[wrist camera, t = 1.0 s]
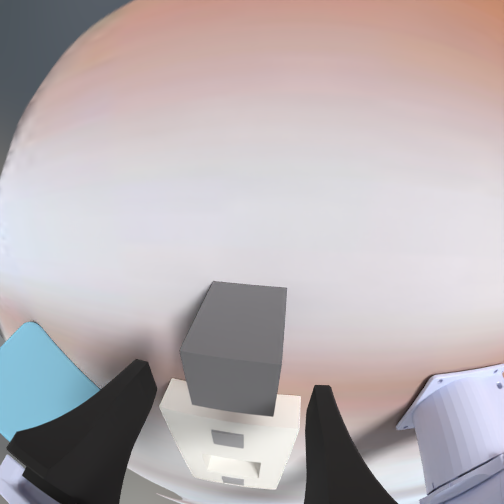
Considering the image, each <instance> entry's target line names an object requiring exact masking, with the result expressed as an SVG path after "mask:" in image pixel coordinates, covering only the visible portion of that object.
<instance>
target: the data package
mask: <svg viewBox="0 0 504 504" xmlns="http://www.w3.org/2000/svg"><path fill="white" fill-rule="evenodd" d="M98 391H100V389H99V388H98V387H97V386H96V385H95V384H94V383H93V382H92V381H91V380H90V379H89V378H88V377H86V376H85V375H84V374H83V373H82V372H81V371H80V370H79V369H78V368H77V367H76V366H75V365H74V363H73V362H72V361H71V360H70V359H69V358H68V357H67V356H66V355H65V354H64V353H63V352H62V351H61V350H60V348H59V347H58V346H57V345H56V344H55V343H54V342H53V340H52V339H51V338H50V337H49V336H48V335H47V333H46V332H45V331H44V330H43V329H42V327H41V326H40V325H38V324H36V323H34V322H26V323H24V324H23V325H22V326H21V327H20V328H19V329H18V330H17V331H16V332H15V333H14V334H13V335H12V336H11V337H10V338H9V339H8V340H7V341H6V342H5V343H4V344H3V345H2V346H1V347H0V433H1V434H2V435H3V436H4V437H5V438H6V439H7V440H8V441H11V440H12V438H13V436H14V435H15V433H16V432H17V431H22V430H25V429H29V428H33V427H36V426H39V425H42V424H44V423H47V422H49V421H52V420H54V419H56V418H58V417H60V416H62V415H64V414H66V413H68V412H69V411H71V410H73V409H74V408H76V407H78V406H79V405H81V404H82V403H84V402H85V401H87V400H88V399H89V398H91V397H92V396H93V395H95V394H96V393H97V392H98Z"/></svg>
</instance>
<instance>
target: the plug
mask: <svg viewBox="0 0 504 504" xmlns="http://www.w3.org/2000/svg"><path fill="white" fill-rule="evenodd" d="M286 296H287V288H282V287H270V286H259V285H248V284H237V283H227V282H217V281H213V283H212V285H211V287H210V289H209V291H208V293H207V295H206V297H205V299H204V301H203V303H202V305H201V307H200V309H199V311H198V313H197V315H196V317H195V320H194V322H193V324H192V326H191V328H190V330H189V332H188V334H187V336H186V338H185V340H184V342H183V344H182V346H181V348H180V355H181V360H182V365H183V369H184V373H185V378H186V382H187V386H188V390H189V394H190V398H191V402H192V405H196V406H201V407H206V408H212V409H217V410H224V411H230V412H237V413H244V414H252V415H261V416H271V417H273V416H274V410H275V404H276V398H277V392H278V385H279V379H280V372H281V365H282V354H283V341H284V327H285V312H286Z"/></svg>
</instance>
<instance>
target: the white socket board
mask: <svg viewBox="0 0 504 504" xmlns="http://www.w3.org/2000/svg"><path fill="white" fill-rule="evenodd" d="M300 404H301V396H296V395H282V394H277V398H276V404H275V410H274V416H273V417H271V416H261V415H252V414H244V413H237V412H230V411H224V410H217V409H212V408H206V407H201V406H196V405H192V402H191V398H190V394H189V390H188V386H187V382H186V381H184V380H179V379H174V378H172V379H171V381H170V384H169V386H168V388H167V390H166V392H165V395H164V397H163V399H162V401H161V404H160V406H159V408H160V410H161V412H162V415H163V417H164V419H165V421H166V424H167V426H168V428H169V430H170V432H171V434H172V437H173V439H174V441H175V443H176V445H177V447H178V449H179V451H180V453H181V455H182V457H183V459H184V461H185V462H186V464H187V466H188V468H189V470H190V472H191V473H192V475H193V477H194V478H198V479H203V480H208V481H213V482H218V483H223V484H229V485H236V486H243V487H251V488H260V489H272V490H276V488H277V486H278V483H279V481H280V479H281V476H282V474H283V471H284V469H285V466H286V464H287V461H288V459H289V456H290V453H291V451H292V448H293V445H294V443H295V440H296V437H297V434H298V432H299V429H300Z"/></svg>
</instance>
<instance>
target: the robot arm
mask: <svg viewBox="0 0 504 504" xmlns="http://www.w3.org/2000/svg"><path fill="white" fill-rule="evenodd" d="M503 371H504V364H499V365H495V366H490V367H485V368H479V369H474V370H468V371H461V372H454V373H447V374H439V375H434V376H432V377H431V378H430V379H429V380H428V382H427V383H426V385H425V387H424V388H423V390H422V391H421V393H420V394H419V395H418V397H417V398H416V400H415V401H414V403H413V404H412V405H411V407H410V408H409V410H408V411H407V412H406V414H405V415H404V416H403V418H402V419H401V420H400V421H399V423H398V424H397V425H396V429H397V430H404V429H411V428H415V432H416V436H417V441H418V445H419V450H420V455H421V461H422V466H423V472H424V478H425V485H426V492H427V495H428V496H426V497H424V498H422V499H420V500H419V501H420V504H504V378H503V376H502V372H503ZM156 392H157V387H156V384H155V381H154V378H153V375H152V373H151V370H150V367H149V364H148V362H146V361H142V360H138V359H136V360H134V361H133V362H132V363H131V364H130V365H129V366H128V367H126V368H125V369H124V370H123V371H122V372H121V373H120V374H119V375H117V376H116V377H115V378H114V379H113V380H112V381H111V382H109V383H108V384H107V385H106V386H105V387H103V388H102V389H101V390H100V391H98V392H97V393H96V394H95V395H93V396H92V397H91V398H89V399H88V400H87V401H85V402H84V403H82V404H81V405H79V406H78V407H76V408H74V409H73V410H71V411H69V412H68V413H66V414H64V415H62V416H60V417H58V418H56V419H54V420H52V421H49V422H47V423H44V424H42V425H39V426H36V427H33V428H29V429H25V430H22V431H17V432H16V433H15V435H14V436H13V438H12V440H11V441H10V443H9V445H8V446H7V450H8V451H9V452H10V453H11V454H12V455H13V456H15V457H16V458H17V459H18V460H19V461H21V462H22V463H23V464H24V465H26V466H27V467H26V469H25V468H24V467H23V466H21V465H20V464H19V463H18V462H16V461H15V460H14V459H13V458H11V457H10V456H9V455H7V456H6V457H5V459H4V461H3V462H2V464H1V466H0V494H1V495H2V496H3V497H4V498H5V499H6V500H7V502H8V503H9V504H119V499H120V494H121V489H122V484H123V479H124V475H125V472H126V468H127V464H128V461H129V458H130V455H131V451H132V449H133V446H134V444H135V442H136V439H137V437H138V435H139V433H140V431H141V429H142V427H143V425H144V423H145V420H146V418H147V416H148V414H149V412H150V410H151V408H152V405H153V402H154V398H155V395H156ZM305 439H306V468H307V479H306V491H305V500H304V504H398V503H397V502H396V501H395V500H394V499H393V498H392V497H391V496H390V495H389V494H388V493H387V491H386V490H385V489H384V488H383V487H382V485H381V484H380V483H379V482H378V480H377V479H376V478H375V477H374V475H373V474H372V472H371V471H370V469H369V468H368V467H367V465H366V463H365V462H364V460H363V459H362V457H361V455H360V454H359V452H358V450H357V448H356V446H355V445H354V443H353V441H352V439H351V437H350V435H349V433H348V431H347V428H346V426H345V424H344V422H343V419H342V417H341V415H340V412H339V409H338V407H337V404H336V401H335V398H334V395H333V392H332V389H331V387H330V386H329V385H315V386H314V389H313V392H312V395H311V398H310V402H309V405H308V408H307V412H306V427H305Z"/></svg>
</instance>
